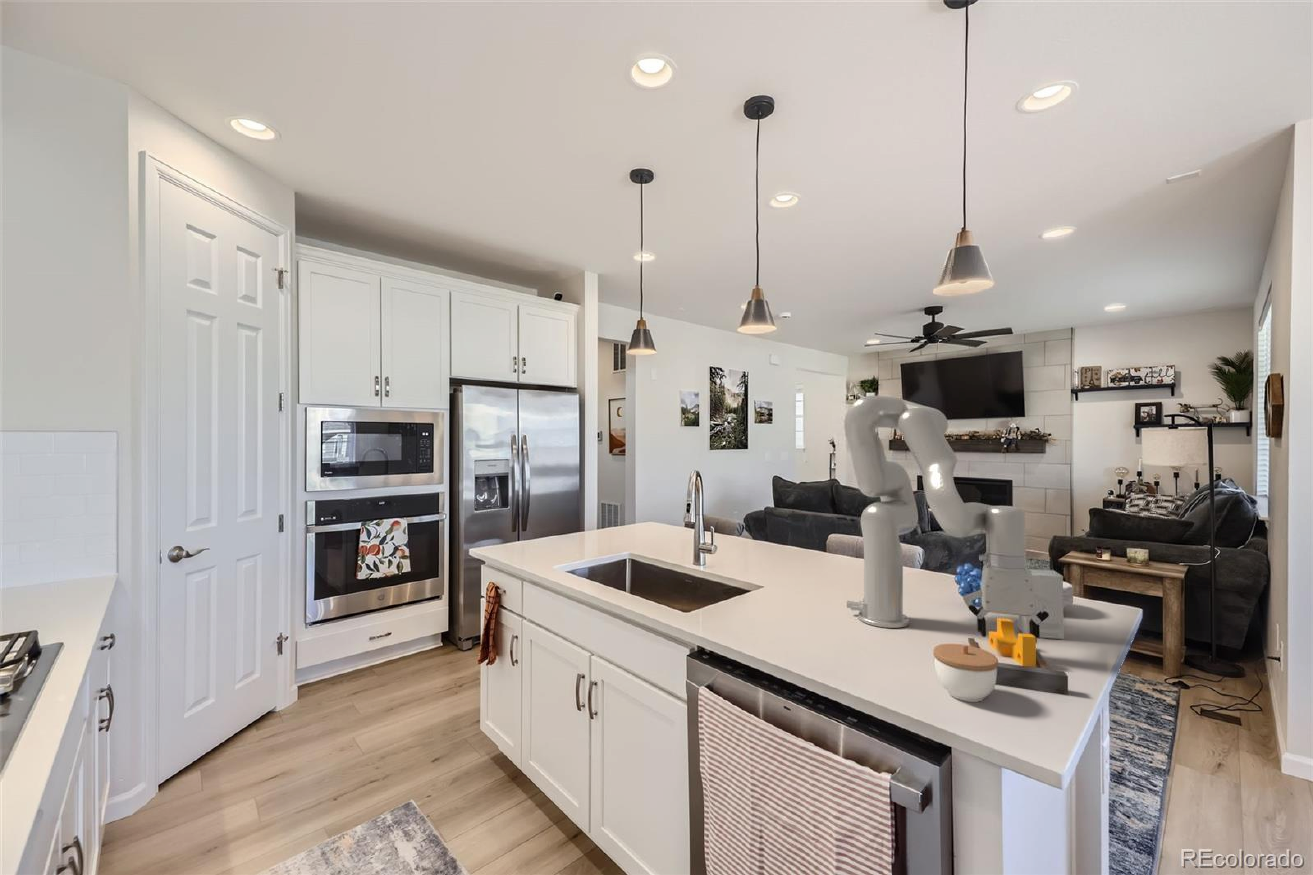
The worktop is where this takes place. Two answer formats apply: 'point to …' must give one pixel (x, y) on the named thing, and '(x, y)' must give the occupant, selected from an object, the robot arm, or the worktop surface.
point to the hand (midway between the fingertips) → (1007, 637)
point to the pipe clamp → (1013, 643)
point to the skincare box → (1051, 590)
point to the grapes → (969, 581)
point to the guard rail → (1031, 676)
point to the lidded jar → (965, 671)
